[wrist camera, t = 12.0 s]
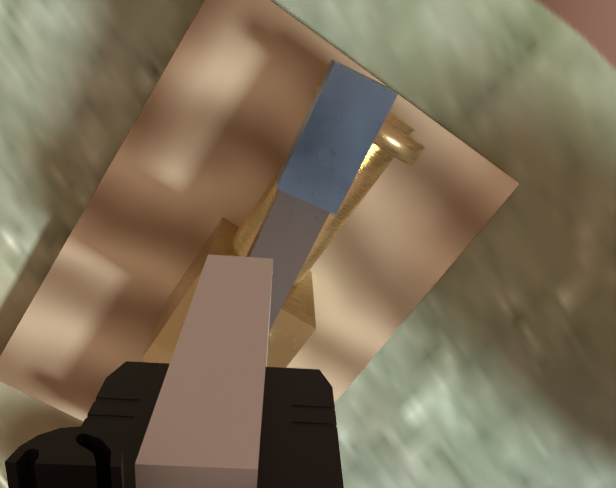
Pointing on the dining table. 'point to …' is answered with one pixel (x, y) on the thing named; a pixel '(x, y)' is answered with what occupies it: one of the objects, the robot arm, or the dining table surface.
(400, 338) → the dining table surface
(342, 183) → the lever
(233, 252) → the valve body
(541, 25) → the dining table surface
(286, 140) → the board
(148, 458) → the robot arm
